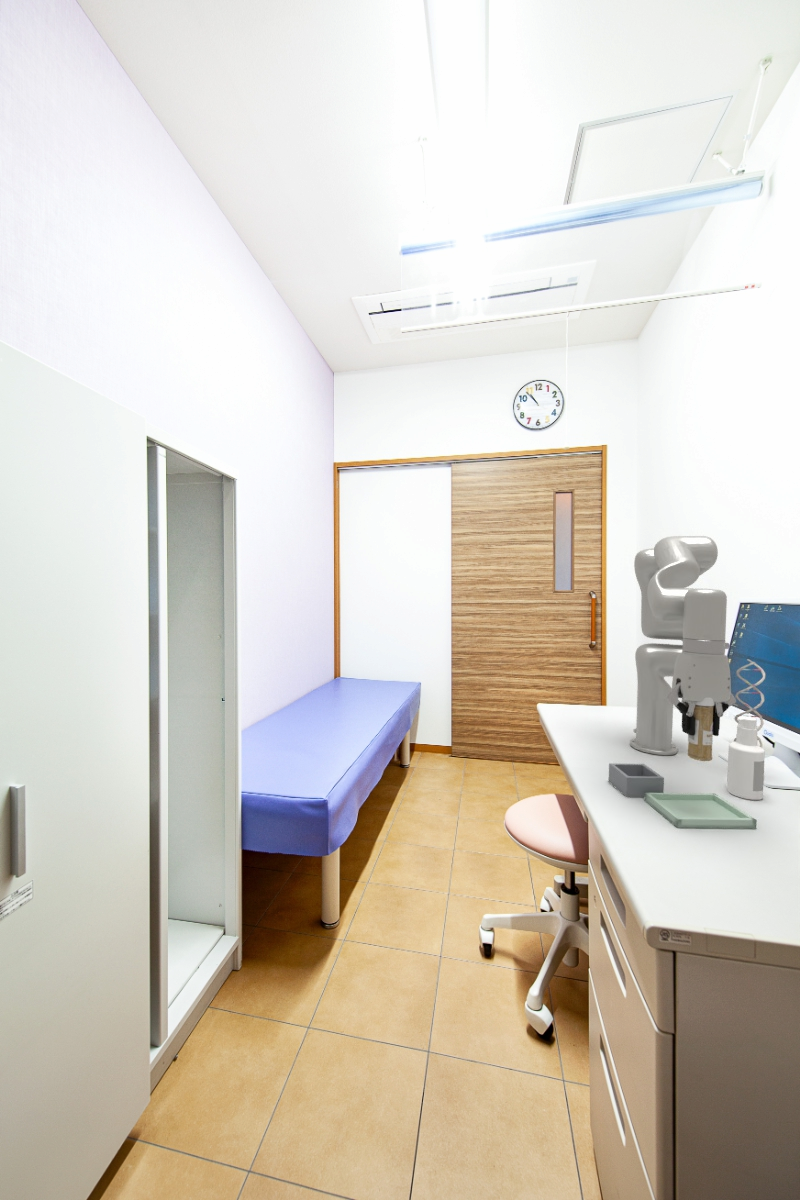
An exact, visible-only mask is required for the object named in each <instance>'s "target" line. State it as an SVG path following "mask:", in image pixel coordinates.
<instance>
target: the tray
mask: <svg viewBox="0 0 800 1200" xmlns="http://www.w3.org/2000/svg"><path fill="white" fill-rule="evenodd" d="M644 802H646V803H647V804H648V805H649V806H651V807H652V808H653V809H654V810H657V811H656V812H658V813H659V814H660V816H662V815H663V816H662V817H663V818H664V819H666V820H667V821H668V820H669V821H668V822H669V823H670V824H672V825H673V824H674V825H675V826H674V825H673V826H674V827H675V828H677V829H719V830H720V829H725V830H726V829H731V830H734V829H735V830H736V829H737V830H741V829H742V830H744V829H748V830H757V824H758V823H757V819H756V818H754V817H753V816H752V815H749V814H748V813H746V812H745V811H743V810H742V809H740V808H738V807H737V806H735V805H734V804H732V803H731V802H729V801H728V800H725V799H724V798H723V797H721V796H719V795H718V794H717V793H701V792H698V793H697V792H696V793H695V792H693V793H692V792H690V793H689V792H664V793H645V797H644Z"/></svg>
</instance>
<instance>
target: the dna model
mask: <svg viewBox="0 0 800 1200" xmlns="http://www.w3.org/2000/svg"><path fill="white" fill-rule="evenodd" d="M746 661H747V662H749V663H748V664H745V665H743V666H741V667H739V668H738V669H737V670H736V676H737V678H739V679H740V680H742V681H743V682H744V683H746V684H747V685H749V686H748V687H746V688H744V689H742V690H739V691H736V693H735V695H734V697H735V699H736V700H737V701H739V703H741V704H742V705H744V706H745V707H746V708H748V710H745V711H743V712H741V713H738V714H736V715H735V716H734V721H735V722H736V723H737V724H738V721H739V716H744V715H746V714H747V715H746V716H747V717H752V718H759V720H760V724H759V726H757V729H758V731H757V732H759V731H760V730H761V729H762V728H763V726H764V724H765V723H764V719H763V715H761V714H760V713H759V712H758V711H757V709H758V708H760V707H762V705H763V703H764V702H765V695H764V693H762V691H761V690H759V688H757V686H759V685H760V684H762V683H763V682H764V680H766V672H765V671H764V669H763V668H762V667H761V666H760V665H758V664H757V663H756V661H752V660H750V659H749V658H747V659H746ZM752 665H754V666H755V668H757V669H750V668H749V669H748V668H747V667H751V666H752ZM741 671H759V672H760V673H761V675H762V678H760V680H758V681H757V682H756V683H753V684H752V683H750V682H749V681H748V680H747V679H745V678H743V677H742V676H741V675H740V672H741ZM752 688H753V689H752ZM750 689H752V690H753V691H756V692H750ZM740 694H752V695H754V694H755V695H756V694H757V695H758V694H759V695H760V698H761V700H760V703H758V704H757V705H756V706H754V707H752V706H750V705H749V704H747V702H744V701H743V700H742V699H741V698H740V697H739V695H740ZM751 712H753V713H754V714H755V715H749V714H750V713H751ZM757 738H758V742H759V743H758V744H759V746H760V747H761V748H763V741H762V739H761V737H759V736H758V735H757ZM735 741H736V737H735V738H734V739H733V742H735Z"/></svg>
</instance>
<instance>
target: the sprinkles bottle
mask: <svg viewBox="0 0 800 1200" xmlns="http://www.w3.org/2000/svg"><path fill="white" fill-rule="evenodd" d="M713 706H714V702H713V699H712V698H705V699H704V700H703V701H702V702H696V704H695V708H694V712H693V716H694V717H695V735H694V736H691V735H689V734H687V741H688V744H687V745H688V749H687V753H686V755H687V757H689V758H690V759H693V760H696V761H700V762H711V761H712V760H713V755H712V753H713V741H714V740H713V736H714V735H713Z"/></svg>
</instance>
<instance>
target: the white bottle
mask: <svg viewBox="0 0 800 1200" xmlns="http://www.w3.org/2000/svg"><path fill="white" fill-rule="evenodd" d="M747 716H748V715H742V716H739V717H738V723H737V725H736V737H735V738H736V741H735V742H734V741H731V742H729V744H728V756H727V757H728V758H727V761H728V762H727V784H726V790H727V791H728V793H729V794H731V795H733V796H736V797H738V798H742V799H745V800H750V801H760V800H762V799H763V798H764V781H765V777H764V776H765V775H764V774H765V754H766V750H765V749H764V748H763V747H762V748H761V747H760V745H759V743H758V742H759V740H758V738H757V736H758V732H759V731H758V729H757V728H758V726H757V724H758V723H757V721H758V720H757V718H756V717H751V716H749V717H747Z"/></svg>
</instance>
